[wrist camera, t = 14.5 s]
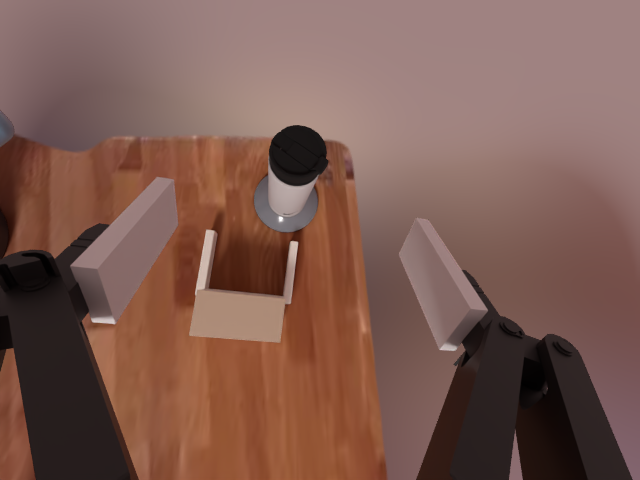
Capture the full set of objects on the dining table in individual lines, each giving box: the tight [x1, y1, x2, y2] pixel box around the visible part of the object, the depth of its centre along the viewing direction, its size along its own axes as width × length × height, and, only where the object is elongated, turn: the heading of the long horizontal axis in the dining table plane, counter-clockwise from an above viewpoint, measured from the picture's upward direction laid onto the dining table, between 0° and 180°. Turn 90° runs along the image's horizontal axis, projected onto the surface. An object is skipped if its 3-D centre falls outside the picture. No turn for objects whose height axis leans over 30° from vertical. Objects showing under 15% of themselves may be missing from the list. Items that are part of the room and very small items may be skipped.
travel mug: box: [268, 125, 328, 218], centre depth 40 cm, size 6×7×20 cm
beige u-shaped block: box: [189, 230, 298, 343], centre depth 44 cm, size 15×14×8 cm
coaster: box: [254, 175, 318, 233], centre depth 50 cm, size 11×11×1 cm
